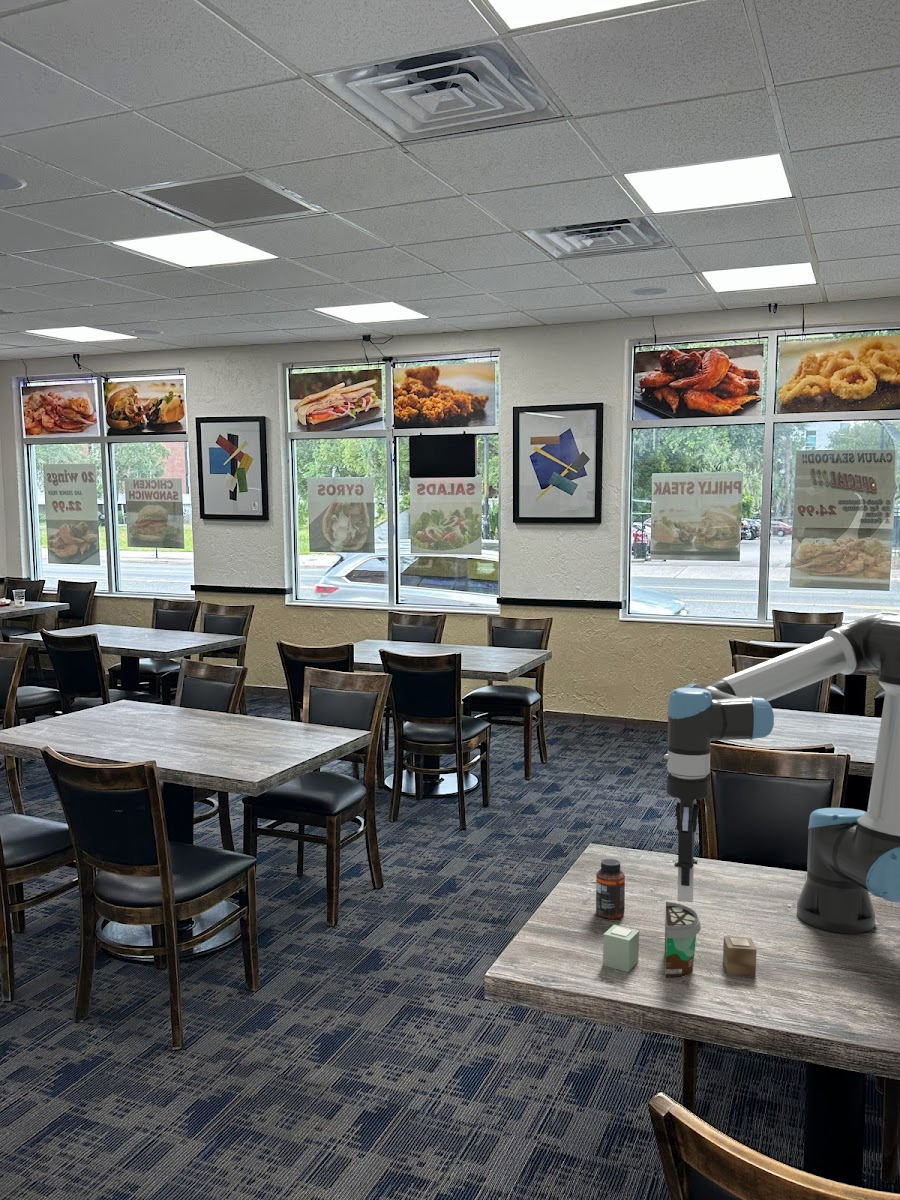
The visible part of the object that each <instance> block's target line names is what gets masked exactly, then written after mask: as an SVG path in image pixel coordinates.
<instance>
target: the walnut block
mask: <svg viewBox="0 0 900 1200" xmlns="http://www.w3.org/2000/svg"><path fill="white" fill-rule="evenodd" d="M722 943H723V946H722V947H723V948H722V963H723V967H724V969H725V972H726V974H727V975H738V976H751V977H753V976H754V977H756V974H757V973H756V970H757V948H756V946H755V943H754V941H753V938H752V937H742V936H728V935H724V936H723V942H722Z"/></svg>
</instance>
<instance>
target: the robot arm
mask: <svg viewBox="0 0 900 1200" xmlns="http://www.w3.org/2000/svg"><path fill="white" fill-rule="evenodd" d="M867 670H868V671H869V670H870V671H874V670H875V671H879V674H878V684H879V685H880V686H881V687H882V689H883V691H884V700H883V707H882V713H881V719H880V724H879V725H880V726H879V732H878V739H877V743H876V744H877V745H876V750H875V751H876V752H875V758H874V765H873V771H872V778H871V784H870V791H869V798H868V805H867V811H865V810H861V809H856V808H850V807H849V808H848V807H847V808H846V807H845V808H844V807H824V808H818V809H815V810H813V811H812V812H811V813H810V815H809V821H808V826H807V829H808V838H807V839H808V841H807V842H808V844H807V845H808V846H807V866H806V867H807V869H806V870H807V871H806V879H805V883H804V884H803V887H802V889H801V892H800V894H799V897H798V899H797V903H796V916H797V917H798V919H800V920H801V921H802V922H804V923H805V924H808V925H810V926H811V927H814V928H817V929H821V930H824V931H828V932H834V933H838V934H839V933H840V934H862V933H866V932H869V931H872V930H873V929H874V928H875V926H876V925H875V924H876V912H875V908H874V906H873V902H872V898H871V895H870V894H872V895H873V896H875V897H877V898H881V899H883V900H885V901H887V902H890V903H895V904H896V903H900V614H896V613H890V612H889V613H887V612H886V613H876V614H872V615H867V616H865V617H861V618H859V619H858V618H857V619H856V620H853V621H850V622H847V623H845V624H842V625H839V626H837V627H835V628H832V629H829V630H828V631H826V632H825V634H824V635H823V638H820V639H818V640H816V641H812V642H811V643H808V644H805V645H803V646H800V647H798V648H795V649H794V650H791V651H787V652H785V653H782V654H781V655H779V656H778V655H777V656H776V657H773V658H771V659H768V660H766V661H763V662H761V663H758V664H756V665H753V666H751V667H748V668H745V669H743V670H741V671H739V672H738V671H737V672H735V673H733V674H731V675H728V676H726V677H723V678H720V679H717V680H715V681H712V682H709V683H706V684H704V683H689V684H687V685H685V686H684V687H678V688H675V689H673V690H671V691H670V693H669V696H668V697H669V699H668V706H667V714H666V715H667V753H665V754H664V755H663V758H664V760H667V763H666V764H667V765H666V770H667V771H668V772H669V773H668V774H667V775H666V793H667V794H668V795H669V796H670V797H672V798H677V799H679V801H678V802H676V806H675V816H676V830H677V835H678V838H677V839H678V840H677V849H678V850H677V854H678V855H677V862H674V867H676V868H677V902H682V903H691V904H692V903H693V901H694V873H695V872H694V870H695V869H694V867H695V865H698V863H699V862H698V861H699V860H698V859H695V858H694V857H695V832H696V831H697V826H698V818H699V812H700V811H699V809H700V804H699V803H696V802H695V801H696V800H698V801H699V800H704V799H706V798H707V797H709V795H710V777H709V776H708V775H709V774H710V773H711V744H712V743H711V742H712V741H715V742H716V741H733V740H735V741H736V740H738V741H739V740H750V741H752V740H755V739H763V738H766V737H768V736H769V735H770V734H771V733H772V731H773V728H774V725H775V722H774V721H775V715H774V710H773V707H772V705H771V703H770V702H769V701H772V700H775V699H777V698H780V697H782V696H786V695H788V694H790V693H792V692H795V691H797V690H799V689H802V688H805V687H808V686H810V685H812V684H814V683H817V682H820V681H822V680H825V679H828V678H830V677H832V676H834V675H837V674H842V675H845V676H846V675H851V674H853V673H856V672H859V671H867Z"/></svg>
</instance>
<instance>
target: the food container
mask: <svg viewBox="0 0 900 1200" xmlns="http://www.w3.org/2000/svg"><path fill="white" fill-rule="evenodd" d="M664 917H665V919H664V921H665V924H664V927H665V928H664V968H665V970H664V971H665V978H666V979H667V978H670V979H676V978H678V979H679V978H684V977H687V976H689V975H690V974H691V973H693V971H694V969H693V968H694V958H695V950H696V943H697V942H696V941H697V935H698V934H699V933H700V931H701V930H702V927H701V920H700V917H699V915H698V914H697V912H696V911H695V910H694V909H692V908H690V907H688V906H687V905H684V904H681V903H677V902H672V901H671V902H670V901H666V902H665V916H664Z"/></svg>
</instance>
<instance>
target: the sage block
mask: <svg viewBox="0 0 900 1200" xmlns="http://www.w3.org/2000/svg"><path fill="white" fill-rule="evenodd" d="M602 941H603V943H602V944H603V948H602V966H605V967H608V968H612V969H616V970H619V971H622V972H626V973H629V972H630V971H631V970H632V969H633V968H634V967H635V966H636V965H637V964H638V963H639V954H640V953H639V952H640V951H639V949H640V948H639V947H640V930H637V929H633V928H629V927H625V926H621V925H617V924H613V925H612V926H610V928H609V929H608V930H606V931H605V932H604V933H603V940H602Z"/></svg>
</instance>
